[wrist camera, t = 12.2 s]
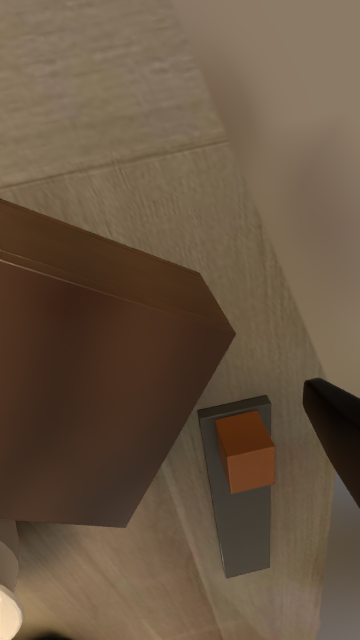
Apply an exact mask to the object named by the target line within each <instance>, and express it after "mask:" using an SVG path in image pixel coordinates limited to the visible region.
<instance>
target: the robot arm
mask: <svg viewBox="0 0 360 640" xmlns="http://www.w3.org/2000/svg"><path fill="white" fill-rule="evenodd" d="M303 407H304V409H305V412H306V414H307V416H308V418H309V420H310V422H311V424H312V426H313V428H314V430H315V432H316V434H317V436H318V438H319V440H320V442H321V444H322V446H323V448H324V450H325V452H326V454H327V456H328V458H329V460H330V462H331V463H332V465H333V467H334V468H335V470H336V471H337V473H338V475H339V476H340V478H341V479H342V481H343V483H344V484H345V486H346V487H347V489H348V491H349V492H350V494H351V496H352V497H353V498H354V500H355V502H356V504H357V505H358V507H359V508H360V398H358V397H356V396H354V395H352V394H350V393H348V392H346V391H344V390H342V389H340V388H339V387H337V386H335V385H333V384H331V383H329V382H327V381H325V380H323V379H321V378H314V379H310V380H306V381H305V382H304V388H303Z"/></svg>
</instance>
